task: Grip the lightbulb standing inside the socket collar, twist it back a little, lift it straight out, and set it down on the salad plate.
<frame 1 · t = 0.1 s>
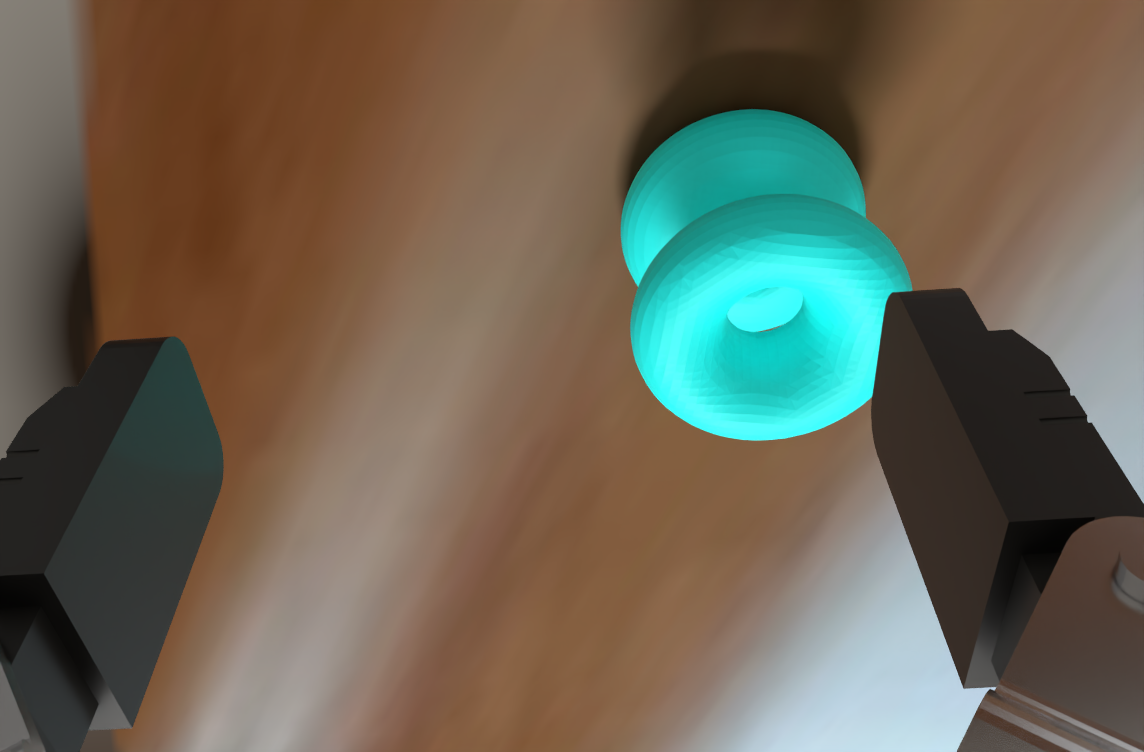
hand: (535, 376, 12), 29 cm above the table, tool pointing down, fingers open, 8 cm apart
donuts: (736, 207, 44), on the table
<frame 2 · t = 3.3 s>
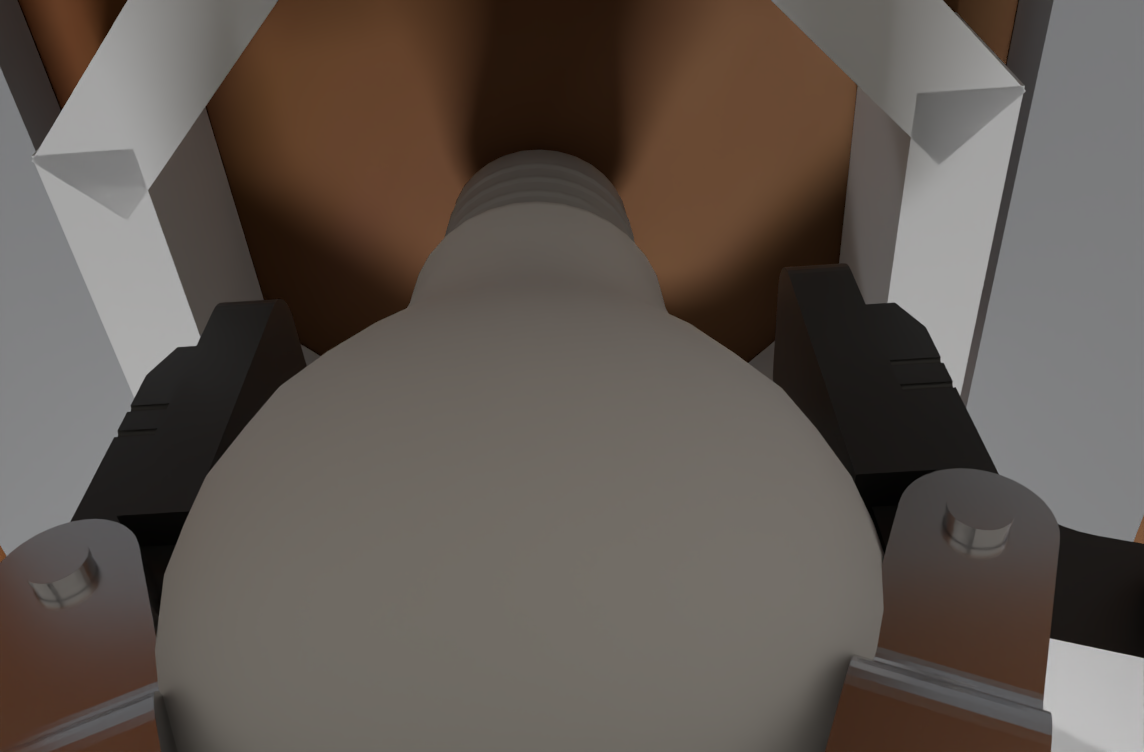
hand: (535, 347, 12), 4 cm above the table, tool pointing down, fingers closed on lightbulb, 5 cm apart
lightbulb: (540, 197, 15), resting in bulb socket stand, touching gripper
bulb socket stand: (541, 203, 15), on the table
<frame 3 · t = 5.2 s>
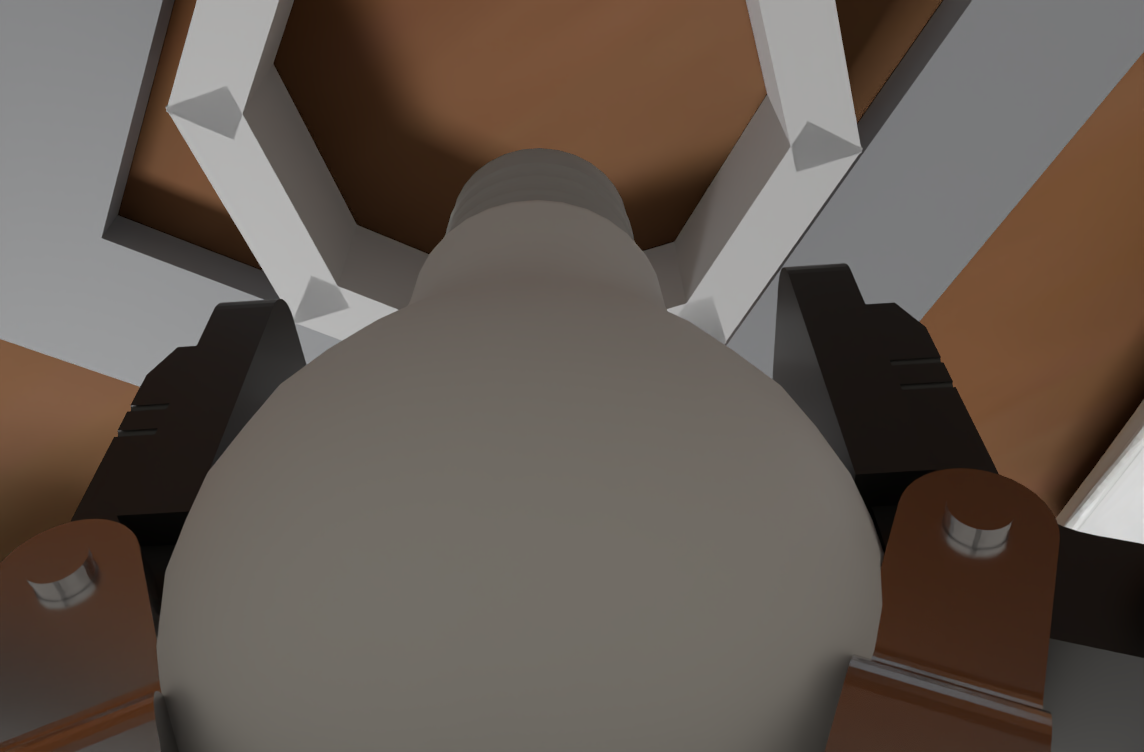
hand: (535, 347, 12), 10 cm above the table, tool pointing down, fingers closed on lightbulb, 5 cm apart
lightbulb: (540, 196, 15), point 6 cm above the table, touching gripper
bulb socket stand: (523, 79, 20), on the table
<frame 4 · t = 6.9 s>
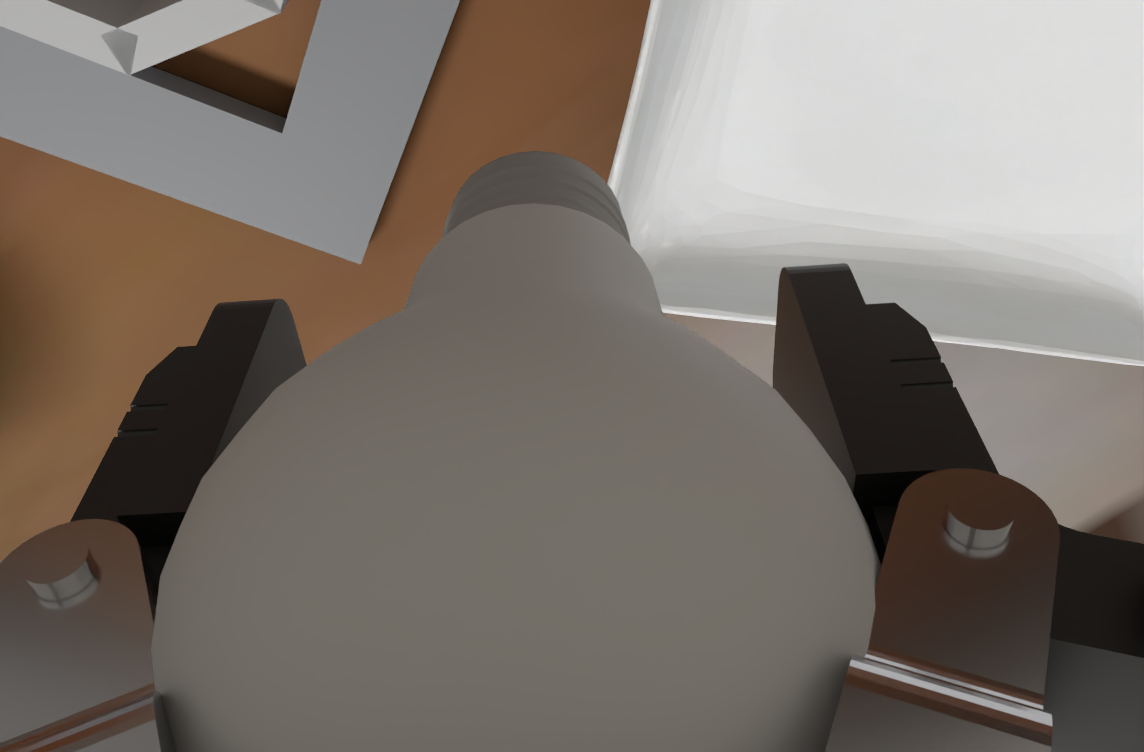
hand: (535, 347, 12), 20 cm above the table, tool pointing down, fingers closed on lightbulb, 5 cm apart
lightbulb: (537, 198, 15), point 16 cm above the table, touching gripper
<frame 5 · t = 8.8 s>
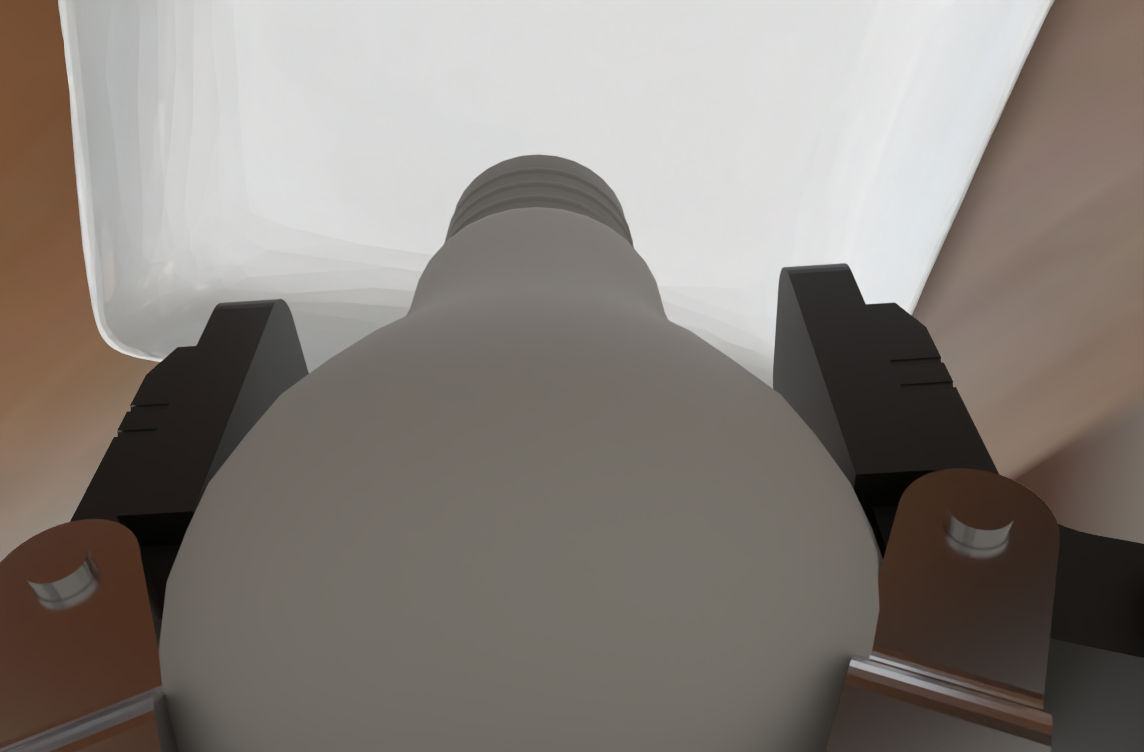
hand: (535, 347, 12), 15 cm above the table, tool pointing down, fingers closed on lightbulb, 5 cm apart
lightbulb: (539, 201, 15), point 11 cm above the table, touching gripper
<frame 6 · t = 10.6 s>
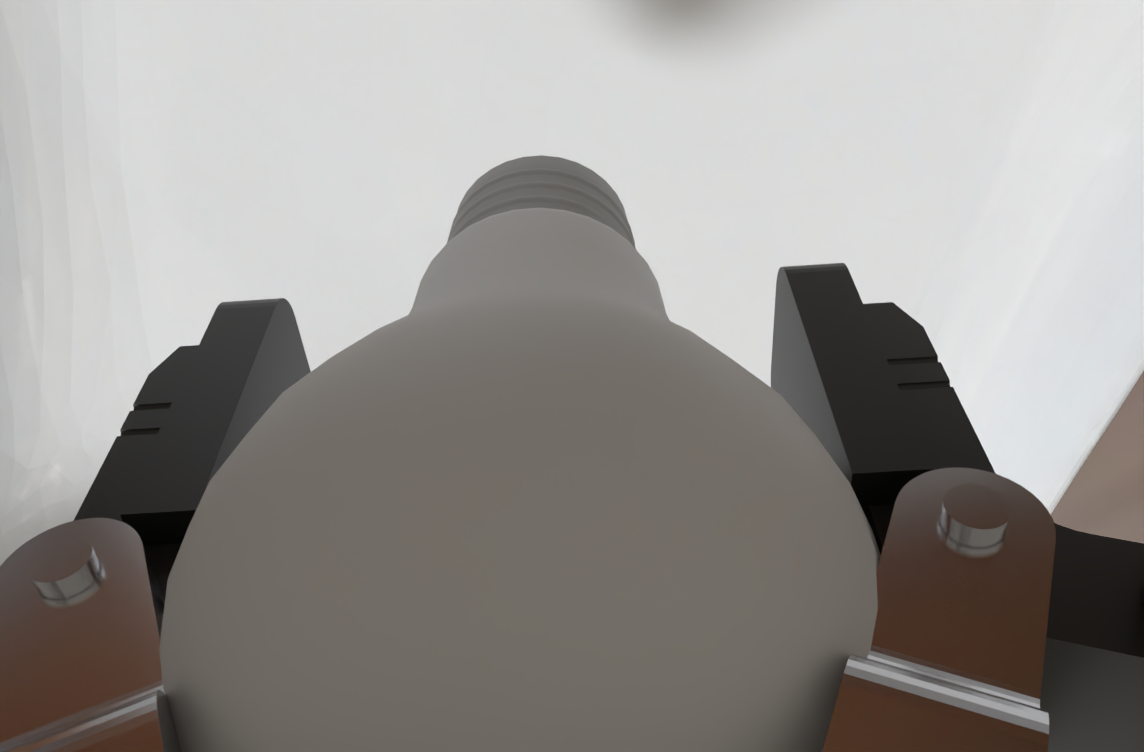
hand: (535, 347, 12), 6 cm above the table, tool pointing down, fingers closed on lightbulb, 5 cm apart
lightbulb: (542, 202, 15), point 2 cm above the table, touching gripper, salad plate
salad plate: (561, 119, 18), on the table, touching lightbulb
when the fingers open (6 cm above the table, at t = 10.8 s): lightbulb stays where it is, resting on salad plate.
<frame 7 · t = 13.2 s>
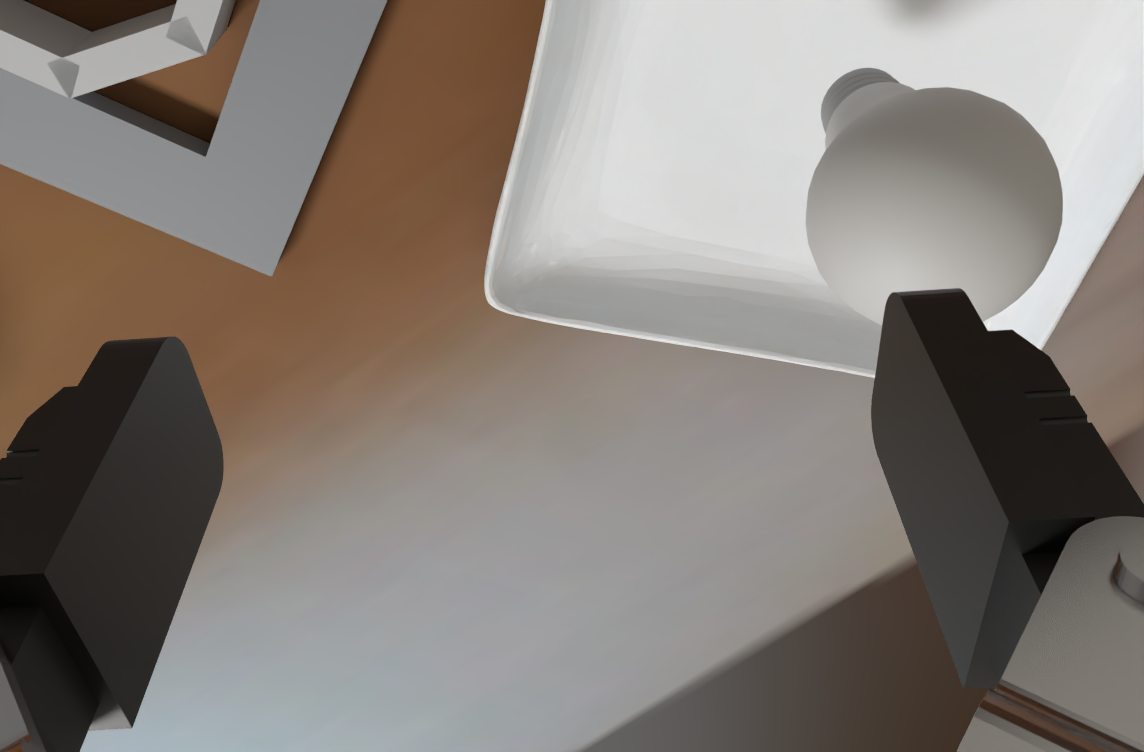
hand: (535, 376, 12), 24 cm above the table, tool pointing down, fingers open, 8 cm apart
lightbulb: (853, 95, 33), point 2 cm above the table, touching salad plate
salad plate: (836, 59, 35), on the table, touching lightbulb
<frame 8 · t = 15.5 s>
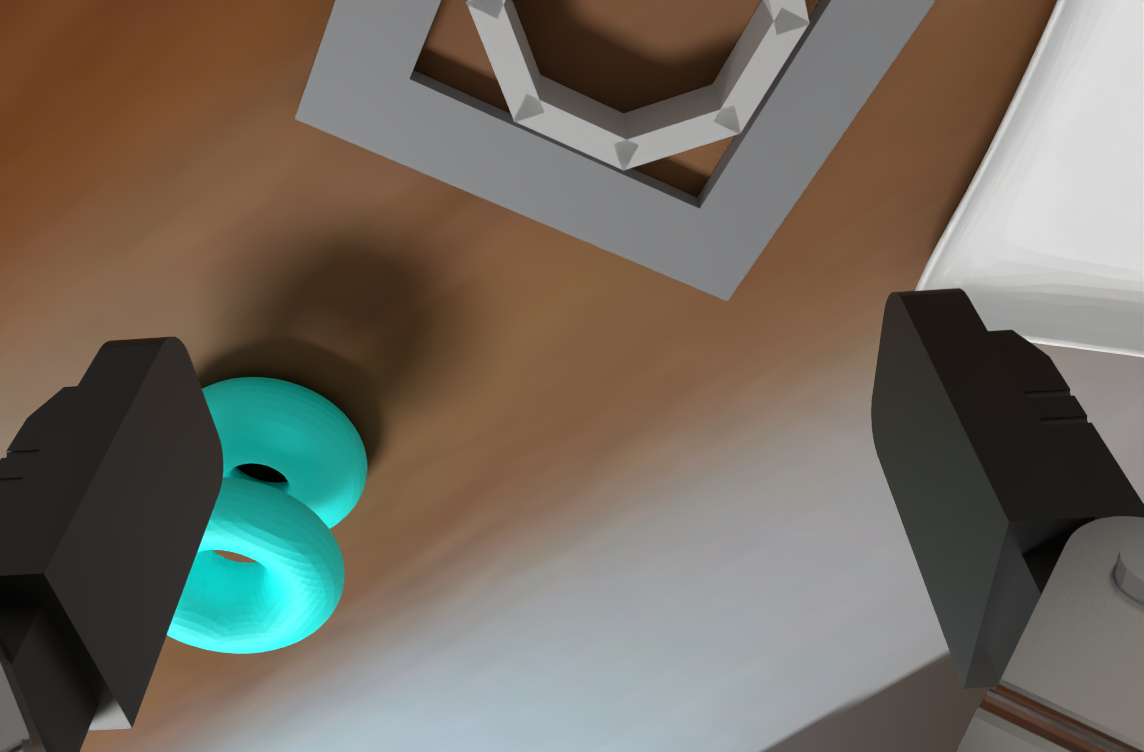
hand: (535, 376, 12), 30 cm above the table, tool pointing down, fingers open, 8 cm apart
donuts: (273, 439, 53), on the table
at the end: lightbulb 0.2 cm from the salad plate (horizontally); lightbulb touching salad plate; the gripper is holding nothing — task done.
